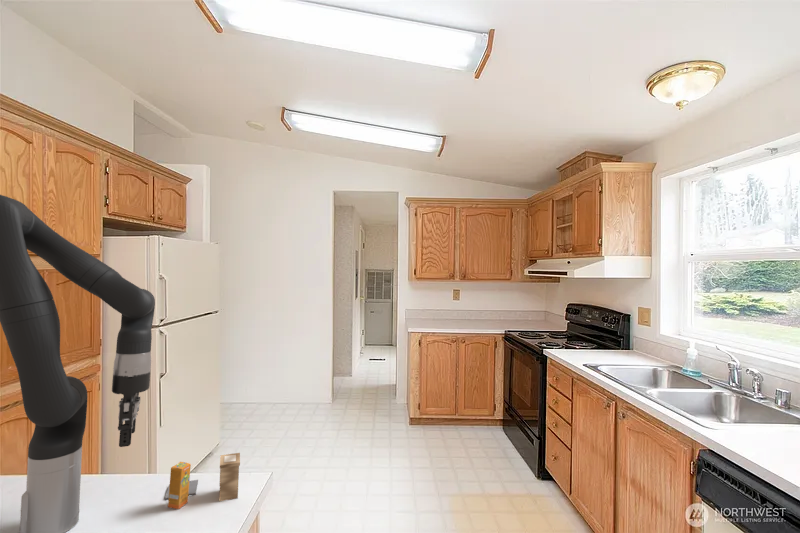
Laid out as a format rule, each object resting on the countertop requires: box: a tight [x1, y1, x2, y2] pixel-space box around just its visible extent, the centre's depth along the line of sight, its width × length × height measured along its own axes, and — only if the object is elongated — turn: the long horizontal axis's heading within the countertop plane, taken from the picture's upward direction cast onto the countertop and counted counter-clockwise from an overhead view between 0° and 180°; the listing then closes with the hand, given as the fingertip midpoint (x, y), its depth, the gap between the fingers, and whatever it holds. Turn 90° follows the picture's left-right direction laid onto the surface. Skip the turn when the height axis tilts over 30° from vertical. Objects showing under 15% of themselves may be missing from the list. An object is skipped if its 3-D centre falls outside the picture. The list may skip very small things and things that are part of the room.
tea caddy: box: [218, 452, 241, 502], centre depth 103 cm, size 5×6×9 cm
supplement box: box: [167, 461, 192, 510], centre depth 98 cm, size 3×3×10 cm
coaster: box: [164, 479, 199, 501], centre depth 104 cm, size 7×7×1 cm
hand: (127, 439), depth 93 cm, fingers open, 8 cm apart
